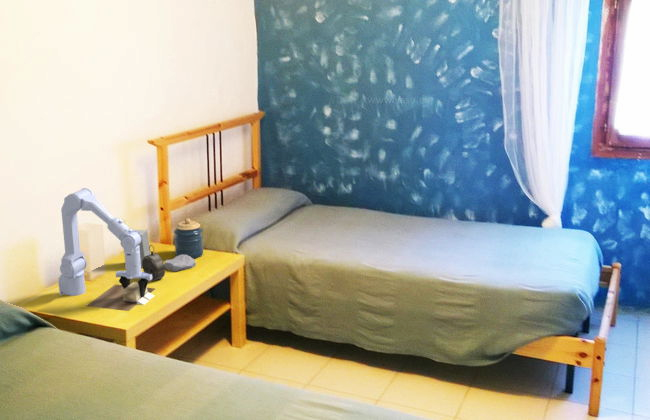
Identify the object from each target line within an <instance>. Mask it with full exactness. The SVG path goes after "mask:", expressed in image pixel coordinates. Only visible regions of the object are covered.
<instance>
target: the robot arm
mask: <svg viewBox="0 0 650 420" xmlns="http://www.w3.org/2000/svg"><path fill="white" fill-rule="evenodd" d="M63 200H64V201H63V203H62V207H61V211H60V212H61V221H62V232H63V233H62V234H63V242H64V254H63V256H62V258H61V263H60V266H59V271H60V275H59V277H58V290H59V291H58V292H59V297H61V296H62V295H66V296H72V297H75V296H81V295H83V294H86V291H87V290H86V283H85V279H86V278H85V269H86V268H87V265H88V263H87V260H86V258H85V253H84V252H83V251H81V248H80V247H81V246H80V235H79V234H80V233H79V225H78V224H79V223H78V222H79V221H78V212H79V211H83V212H84V211H85V212H86V211H87V212H88V211H89V212H92V213H93V214H95V216H97V218H99V219H101V220H102V221H103V222H104V223H106V224H107V229H108V230H109V232H111V234H113V235H114V236H115V237H116V238H117V239H118V240H119V241H120V246H121V247H122V249H123V252H124V262H125V263H124V265H125V270H118V271H116V272H115V278H120V279H119V280H118V282H119V284H120V285H122V286H123V288H124V289H125V288H126V287H128V286H129V285H130V284H131V280H132V279H135V280H136V279H137V280H138V281H137V282H138V285H139V288H140V296H141V297H143V296H145V290H146V286H147V287H148V284H149V282H150V281H153V280H152V274H148V273H144V271H142V267H141V260H140V246H139V244H140V243H141V241H142V237H141V235H140V234H139V232H138V231H135V230H136V229H132V228H130V227H129V226H128V225H127V224H126V223H125V222H124V220H123V219H120V217H114V216H113V215H112V214H111V213H110V212H109V211H108V210H107V208H106V207H105V206H104V205H103V204H102V203H101V202H100V201H99V199H98V198H97V195H96V194H95V193H93V191H92V190H90V189H89V188H87V187H83V188H80V189H78V190H77V191H74V192H72V193H70V194H68V195H66V196H65V197H64V198H63Z"/></svg>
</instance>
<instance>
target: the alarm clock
mask: <svg viewBox="0 0 650 420" xmlns="http://www.w3.org/2000/svg"><path fill="white" fill-rule="evenodd" d="M151 247H152V249H153V250H151V249H150V248H151ZM149 250H150V255H147V256H145V257H144V258H143V261H142V267H141V268H142V270H143V272H144V273H148V274H152V280H151V281H157V280H159V281H161V280H162V279H163V277H164V276H165V275H166V274H165V273H166V269H165V266H164V263H165V262H164V261H163V259H162V257H161V256H160V255H159V254H158V253H155V247H154V245H152V244H149Z"/></svg>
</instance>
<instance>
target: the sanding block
mask: <svg viewBox="0 0 650 420" xmlns="http://www.w3.org/2000/svg"><path fill="white" fill-rule="evenodd" d="M147 288H148V285H147V286H146V290H145V294H147V293H148V291H147ZM122 293H123V301H124V302H137V301H138V300H139V299H141V298H142V297H141V296H140V288H139V285H138V281H133V282H132V283H130V285H129V286H128V287H126V288H125V289H124V290H122Z"/></svg>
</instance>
